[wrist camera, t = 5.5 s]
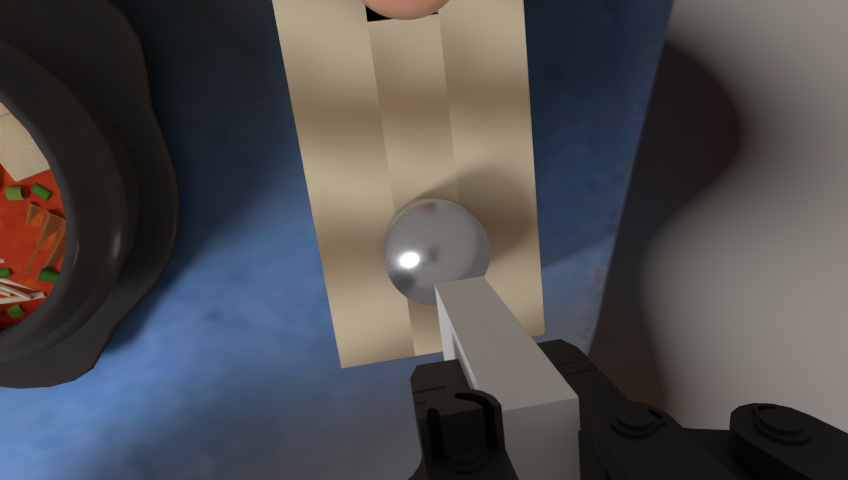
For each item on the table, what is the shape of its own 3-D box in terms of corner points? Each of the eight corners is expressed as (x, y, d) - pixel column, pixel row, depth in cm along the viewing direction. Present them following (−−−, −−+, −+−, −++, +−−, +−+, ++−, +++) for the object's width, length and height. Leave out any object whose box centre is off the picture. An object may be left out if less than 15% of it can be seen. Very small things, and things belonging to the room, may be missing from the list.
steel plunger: (458, 246, 31) (494, 297, 22) (386, 257, 30) (392, 313, 21) (450, 174, 30) (485, 195, 20) (375, 184, 29) (376, 211, 20)
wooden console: (504, 285, 33) (545, 334, 25) (348, 310, 32) (341, 368, 24) (470, -103, 27) (510, -196, 19) (278, -85, 26) (239, -175, 18)
